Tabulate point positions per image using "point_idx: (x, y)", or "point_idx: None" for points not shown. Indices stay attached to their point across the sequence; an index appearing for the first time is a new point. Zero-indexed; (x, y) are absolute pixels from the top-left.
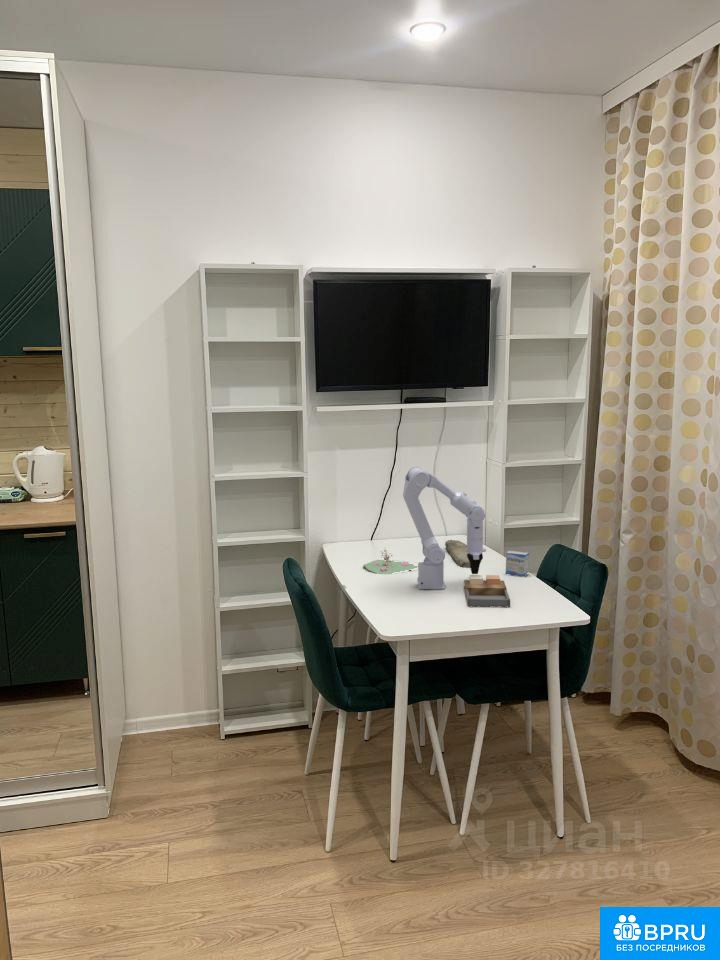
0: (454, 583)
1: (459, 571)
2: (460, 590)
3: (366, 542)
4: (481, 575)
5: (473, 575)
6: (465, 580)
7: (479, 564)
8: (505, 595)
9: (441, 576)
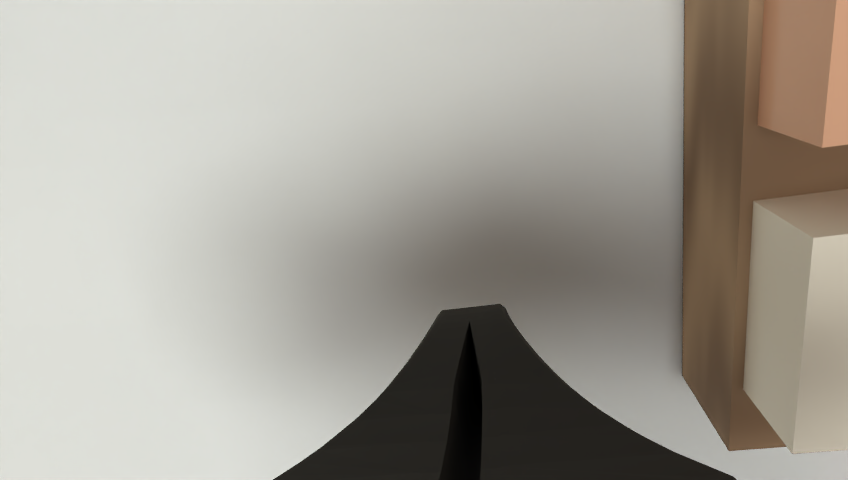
0: None
1: (34, 450)
2: None
3: None
4: (843, 247)
5: (828, 390)
6: (748, 437)
7: (585, 399)
8: None
9: None
